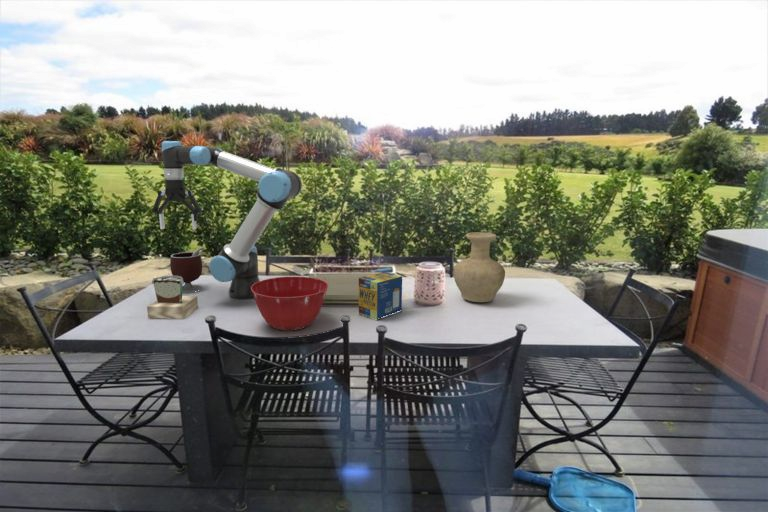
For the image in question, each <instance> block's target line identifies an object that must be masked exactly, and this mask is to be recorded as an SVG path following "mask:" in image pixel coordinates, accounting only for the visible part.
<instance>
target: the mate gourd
mask: <svg viewBox="0 0 768 512" xmlns="http://www.w3.org/2000/svg"><path fill="white" fill-rule="evenodd" d="M202 249H204V246H200V247H199V248H197V249H196V250H194V251H183V252H178V253H173V254H171V255H170V260H169V261H170V262H169V266H170V267H169V268H170V271H171V276H180V277H182V279H183V281H184V285H182V294H190V293H189V292H193V293H196V292H195V291H198V290H200V291H202V290H203V286H202V285H198V284H192V283H193V282H194V281H196V280H198V279H199V278H200V277H201V275H202V273H203V260H202V256H201V253H200V251H201V250H202ZM201 289H202V290H201ZM198 292H199V291H198Z"/></svg>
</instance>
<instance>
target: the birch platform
mask: <svg viewBox="0 0 768 512" xmlns="http://www.w3.org/2000/svg"><path fill="white" fill-rule="evenodd" d="M198 308H199V302H198V296H197V295H182V303H181V304H168V303H157V299H156V300H155V301H153V302H151V303H150V304H148V305H147V306H146V310H147V311H146V312H147V318H172V319H173V320H177V319H180V320H182V319H183V320H184V319H186V318H187V317H188V316H190V315H191V314H193V312H194V311H195V310H196V309H198ZM172 319H171V320H172Z"/></svg>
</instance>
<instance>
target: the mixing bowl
mask: <svg viewBox="0 0 768 512" xmlns="http://www.w3.org/2000/svg"><path fill="white" fill-rule="evenodd" d="M328 288H329V283H327V281H325V280H323V279H319V278H315V277H311V276H279V277H272V278H266V279H263V280H260V281H259V282H257V283H255V284H253V285H252V286H251V291H252V292H253V296H254V298H253V299H254V301H255V304H256V306H257V309H258V310H259V313H260V314H261V316H262V318H263V319H264V321H265V323H267V324H268V325H269V326H271V327H273V328H274V329H276V330H279V329H281V330H280V331H286V330H290V331H296V330H295V329H299V330H301V329H300V328H302V329H304V328H303V327H305V328H306V326H307V327H308V326H309V325H311V324H312V323H313V322H314V321H315V320H316V319H317V317H318V315H319V313H320V311H321V309H322V306H323V305H324V301H325V298H326V294H327V290H328Z"/></svg>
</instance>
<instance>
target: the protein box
mask: <svg viewBox="0 0 768 512" xmlns="http://www.w3.org/2000/svg"><path fill="white" fill-rule="evenodd" d="M402 302H403V276H402V275H398V274H396V273H392V272H387V271H380V272H377V273H373V274H370V275H365V276H363V277H362V276H360V277H358V315H359V314H361V315H360V316H362V315H364V316H363V317H365V316H367V317H366V318H368V317H371V318H374V319H378V318H381V317H383V316H386V315H389V314H392V313H395V312H397V311H400V310H402V309H403V306H402V304H403V303H402ZM371 318H370V319H371ZM374 319H373V320H374Z"/></svg>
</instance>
